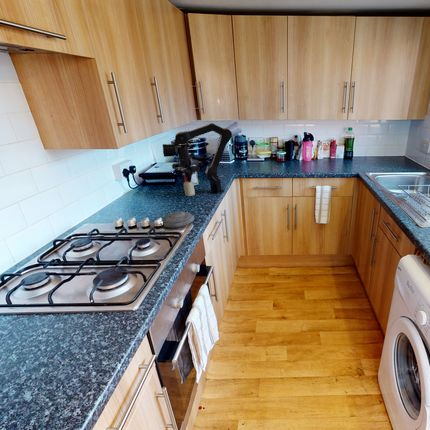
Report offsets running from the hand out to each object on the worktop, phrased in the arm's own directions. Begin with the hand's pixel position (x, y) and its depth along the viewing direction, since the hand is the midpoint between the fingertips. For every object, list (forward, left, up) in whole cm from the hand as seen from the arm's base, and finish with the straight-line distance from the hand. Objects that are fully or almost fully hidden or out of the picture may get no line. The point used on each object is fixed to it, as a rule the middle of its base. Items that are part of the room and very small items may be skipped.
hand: (187, 181), depth 169 cm
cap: (0, 0, +1) cm, 1 cm away
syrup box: (+15, -13, -8) cm, 22 cm away
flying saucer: (-30, +28, -8) cm, 42 cm away
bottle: (0, 0, -8) cm, 8 cm away
